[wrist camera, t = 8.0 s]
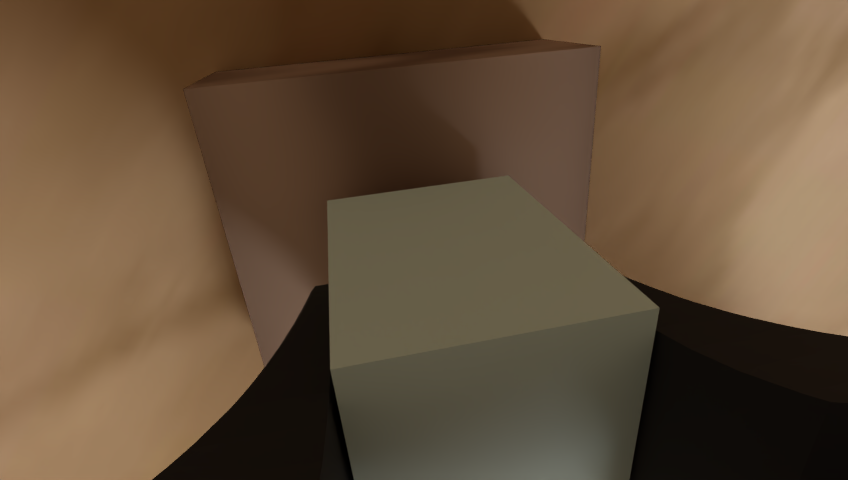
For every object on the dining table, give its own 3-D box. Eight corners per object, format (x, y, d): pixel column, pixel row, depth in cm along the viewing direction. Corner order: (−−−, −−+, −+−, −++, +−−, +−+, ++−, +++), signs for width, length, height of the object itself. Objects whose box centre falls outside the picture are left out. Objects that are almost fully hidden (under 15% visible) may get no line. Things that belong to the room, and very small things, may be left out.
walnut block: (543, 39, 15) (601, 45, 12) (534, 302, 19) (574, 357, 16) (215, 71, 14) (183, 89, 10) (286, 347, 18) (279, 416, 15)
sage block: (508, 175, 12) (659, 307, 6) (507, 322, 14) (622, 515, 8) (327, 200, 11) (330, 369, 6) (354, 350, 13) (374, 577, 8)
